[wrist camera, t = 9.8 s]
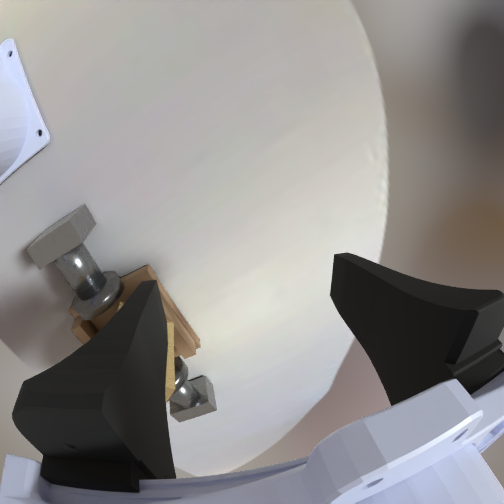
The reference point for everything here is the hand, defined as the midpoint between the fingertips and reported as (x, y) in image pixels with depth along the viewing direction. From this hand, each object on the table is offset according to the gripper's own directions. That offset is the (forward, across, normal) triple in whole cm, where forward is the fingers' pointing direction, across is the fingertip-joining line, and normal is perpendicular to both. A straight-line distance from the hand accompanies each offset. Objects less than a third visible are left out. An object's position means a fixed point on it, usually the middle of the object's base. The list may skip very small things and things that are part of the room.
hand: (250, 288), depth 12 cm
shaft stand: (+9, +8, +8) cm, 15 cm away
